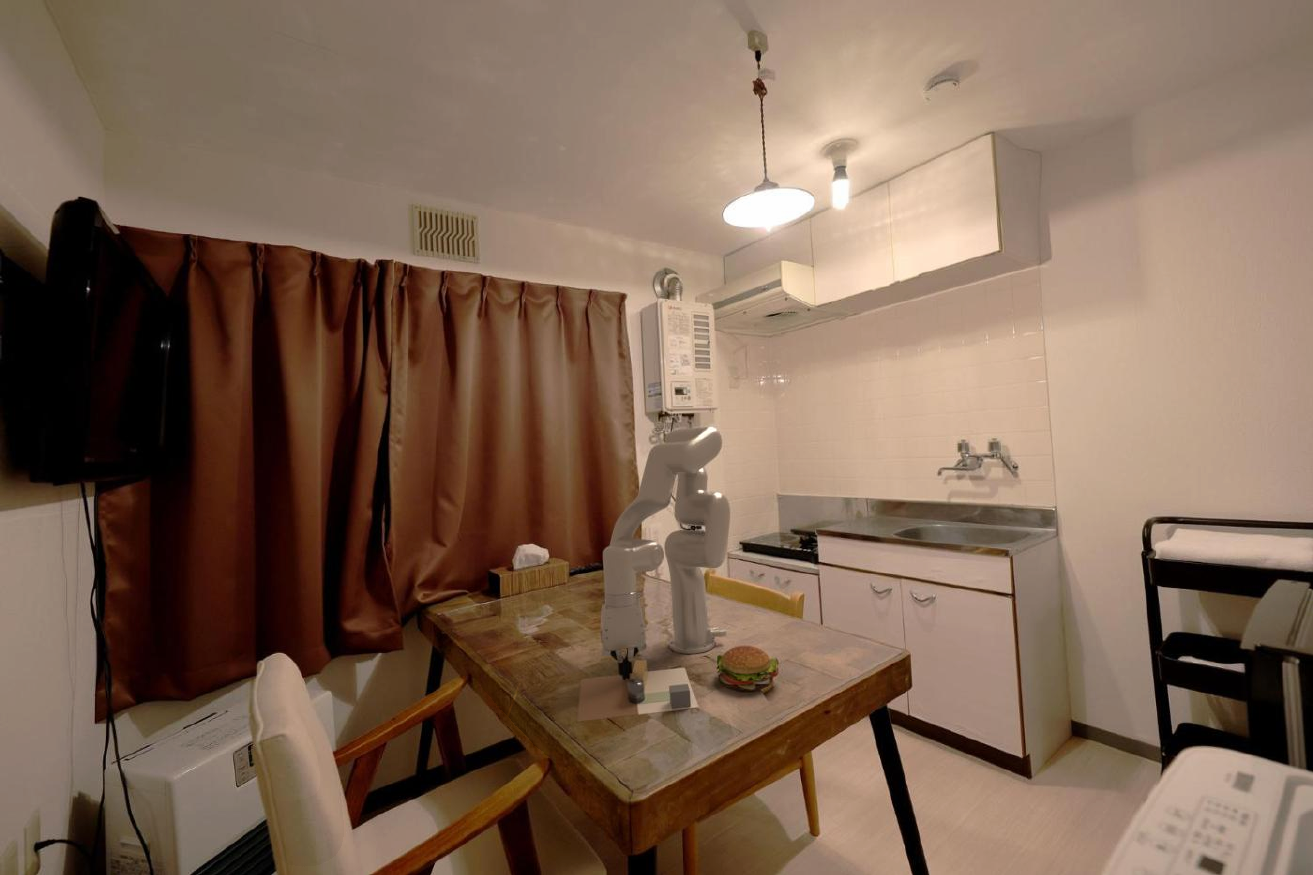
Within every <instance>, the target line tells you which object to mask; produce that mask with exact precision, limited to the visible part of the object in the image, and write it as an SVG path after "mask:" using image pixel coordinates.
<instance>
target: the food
mask: <svg viewBox="0 0 1313 875" xmlns="http://www.w3.org/2000/svg"><path fill="white" fill-rule="evenodd" d="M716 664H717V668H716V669H717V672H716V673H717V674H718V679H719V682H720V683H721V684H722V685H723V686H725V687H727V688H729V689H731V690H734V691H739V692H755V691H761V693H762V694H764V693H767V692H769V691H771V688H772V687H774V678H775V677H777V676H778V674H779V666H780V663H779V660H778V658H777V657H775V658H773V657H772V658H771V657H770V656H769V654H768V653H767V652H766V651H764V650H763V649H761V648H759V647H756V646H752V645H740V646H739V645H738V646H734V647H731V648H730V649H728V650H727V651H726V652H724V653H723V654H719V655H717V657H716Z"/></svg>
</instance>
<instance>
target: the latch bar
mask: <svg viewBox="0 0 1313 875" xmlns="http://www.w3.org/2000/svg"><path fill="white" fill-rule="evenodd" d="M648 672H649V671H648V660H647V659H641V660H640V659H638V660H636V659H635V661H634V664H633V667H632V675H631V679H630V680H629V681H628V682H627V689H628V701H629V702H631V703H640V702H642V701H644V699H645V693H644V691H645V686H646V681H647V676H648Z"/></svg>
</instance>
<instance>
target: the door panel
mask: <svg viewBox="0 0 1313 875" xmlns="http://www.w3.org/2000/svg"><path fill="white" fill-rule="evenodd" d="M631 675H632V674H630V679H631ZM630 679H627V678H626V680H623V678H622V675H620V676H619V674H616V675H606V676H605V675H604V676H598V677H590V678H589V677H588V678H581V679H580V688H579V689H580V690H579V698H578V707H577V716H576V723H579V722H588V721H598V720H605V719H614V718H621V717H630V716H637V715H646V714H655V713H662V712H663V713H664V712H671V711H679V710H687V709H688V710H689V709H695V708H699V705H698V702H697V700H696V699H697V698H696V696H695V694H694V690H693V688H692V685H691V682H690V680H689V676H688V674H687V670H686V668H685V667H676V668H669V669H659V670H651V671H650V670H649V671H648V676H647V681H646V686H645V691H644V693H645V699H644V701H642V702H640V703H631V702H629V701H628V689H627V682H628V681H629V680H630Z"/></svg>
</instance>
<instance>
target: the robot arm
mask: <svg viewBox="0 0 1313 875" xmlns="http://www.w3.org/2000/svg"><path fill="white" fill-rule="evenodd" d="M722 447H723V438H722V434H721V433H720V431H719V430H718V429H717V428H715V427H713V426H702V427H701V426H699V427H691V428H690V427H688V428H680V429H679V428H678V429H673V430H671V431H669V432H668V433H667V434H666V436H665V438H664V443H658V444H656V445H654V446H652V447H651V449H650V450H649V452H648V456H647V458H646V459H647V460H646V462H645V466H644V471H643V474H642V479H641V482H640V485H639V491H638V494H637V495H636V497H635V499H634V500H633V501H631V503H629V505H628V506H627V507H626V508H625V510H623V512H622V513H621V514H620V516H619V517H618V518H617V520H616V523H614V527H613V531H612V535H611V538H610V542H609V545H608V546H606V547H605V548H604V549H603V551H602V564H603V565H602V566H603V580H604V581H603V582H604V584H603V585H604V586H603V587H604V601H605V603H603V604H602V605H601V611H600V612H601V613H600V642H601V644H602V645H601V651H600V652H601V653H600V654H601V655H602V656H606V657H612V658H613V659H614V660H616V661H617V665H618V666H617V667H618V675H619V676H620V675H622V678H623V680H626V678H627V679H630V674H632V672H633V664H632V662H633V661H634V658H635V656H636V655H637V654H639V653H640V652H642V651H645V650H646V649H647V647H648V646H647V643H646V641H647V640H646V639H647V638H646V637H647V636H646V627H645V621H644V615H643V614H644V613H643V609H642V605H641V602H640V600H639V599H640V598H644V591H643V590H639V589H638V588H637V586H638V585H637V574H639V573H647V572H648V573H649V572H653V571H655V570H656V569H659V567H660V566H661V565H662V564H663V561H664V558H666V561H667V566H668V567H667V568H668V571H669V579H670V580H669V581H670V592H671V593H670V594H671V605H672V607H671V608H672V619H673V620H672V622H673V636H672V637H671V638H670V640H669V641H668V647H669V648H670V649H671V651H673V652H676V653H678V654H679V653H680V654H685V655H686V654H687V655H688V654H689V655H691V654H700V653H704V652H707V651H710V650H711V649H713V648H714V647H715V644H716V642H715V641H716V640H715V638H718V637H719V638H722V637H727V632H726V628H723V629H720V628H719V627H713V628H712V627H710V626H709V620H708V606H707V604H708V603H707V592H706V591H707V590H706V580H705V577H704V574H703V572H702V569H701V568H704V569H717V568H720V567H721V566H722V565H724V564H723V563H724V562H725V560H726V557H727V551H728V543H729V542H728V541H729V533H730V521H731V520H730V519H731V508H730V503H729V501H728V498H727V496H726V495H724V494H723V493H721V492H719V491H708V473H707V470H706V466H707V465H708V464H709V463H710V462H712V461H713V460H714V459H715V458H716V457H717V456H718V455H719V454H720V453H721V449H722ZM676 479H677V486H676V492H675V494H676V495H675V501H674V518H675V520H676V521H677V523H679V524H680V525H684V526H693V527H694V526H695V527H704V531H703V530H692V529H691V530H690V529H678V530H674V531H672V532H671V533H669V534H668V535H667V537H666V538H665V542H664V548H663V546H662V545H661V544H660V543H658V542H657V541H655V540H652V539H645V538H643V539H641V538H634V535H635V534H636V533H635V532H637V529H638V527H639V526H640V525H641V524H642V523H643V522H644V521H645V520H646V519H648V518H650V517H652V516H653V515H655V514H657V513H659V512H661V511H663V510H665V509H666V508H668V506H669V505H670V504H671V499H672V495H673V490H674V485H675V481H676ZM622 650H626V651H625V656H623V653H622Z"/></svg>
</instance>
